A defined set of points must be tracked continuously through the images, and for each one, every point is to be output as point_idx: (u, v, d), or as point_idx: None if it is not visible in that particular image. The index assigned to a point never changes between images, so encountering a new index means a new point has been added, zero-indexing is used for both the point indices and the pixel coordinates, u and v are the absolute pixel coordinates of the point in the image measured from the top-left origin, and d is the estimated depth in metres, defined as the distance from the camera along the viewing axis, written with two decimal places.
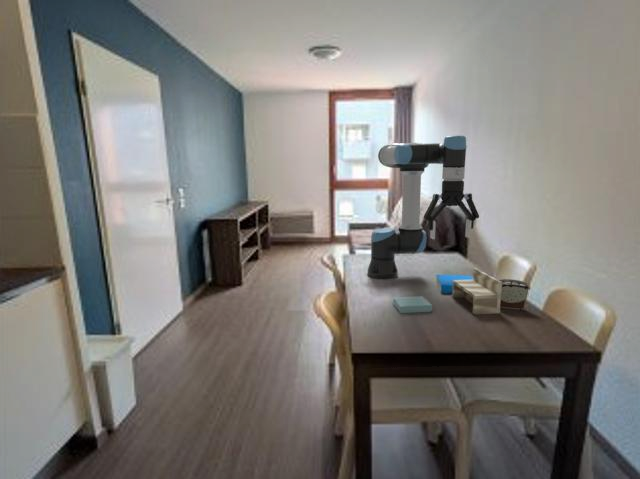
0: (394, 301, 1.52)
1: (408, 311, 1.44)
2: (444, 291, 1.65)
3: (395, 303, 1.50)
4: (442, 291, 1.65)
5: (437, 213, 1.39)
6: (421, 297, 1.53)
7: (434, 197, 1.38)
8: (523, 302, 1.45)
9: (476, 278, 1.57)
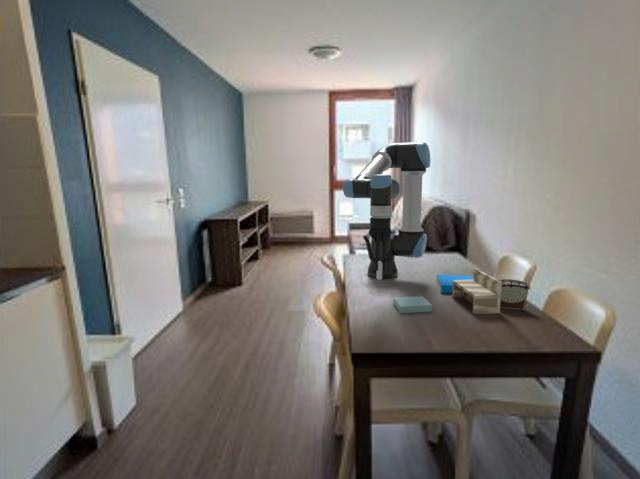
0: (394, 301, 1.52)
1: (408, 311, 1.44)
2: (444, 292, 1.65)
3: (395, 303, 1.50)
4: (442, 291, 1.65)
5: (377, 253, 1.42)
6: (421, 297, 1.53)
7: (364, 239, 1.42)
8: (523, 302, 1.45)
9: (476, 278, 1.57)
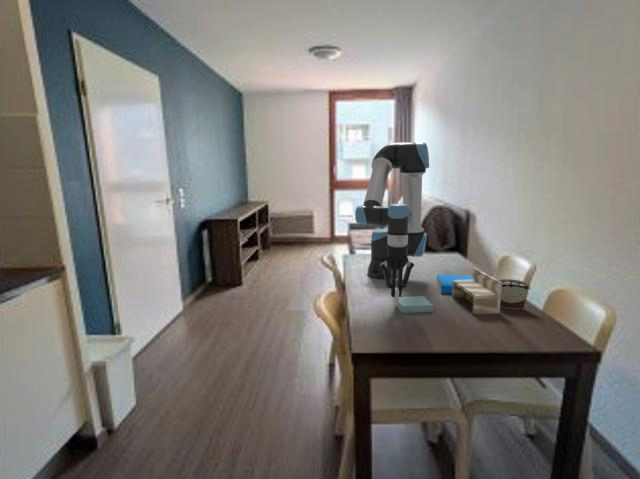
0: None
1: (409, 311, 1.44)
2: (444, 292, 1.65)
3: None
4: (442, 292, 1.65)
5: (394, 280, 1.45)
6: (422, 297, 1.53)
7: (382, 267, 1.45)
8: (523, 302, 1.45)
9: (476, 278, 1.57)
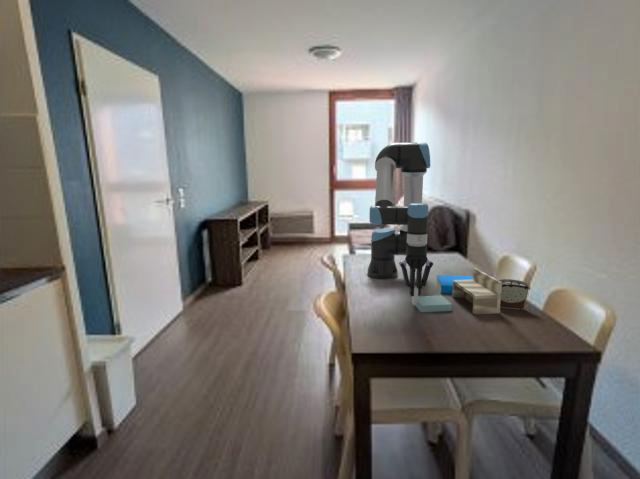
0: None
1: (428, 310, 1.45)
2: (444, 292, 1.65)
3: None
4: (442, 292, 1.65)
5: (413, 279, 1.46)
6: (440, 296, 1.53)
7: (401, 266, 1.45)
8: (523, 302, 1.45)
9: (476, 278, 1.57)
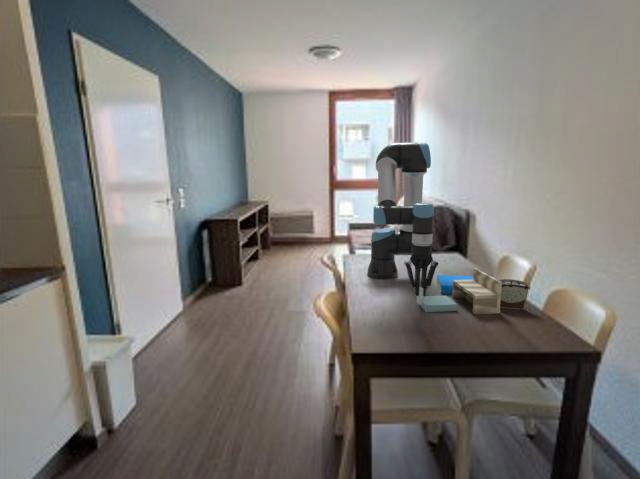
0: None
1: (433, 310, 1.45)
2: (444, 292, 1.64)
3: None
4: (442, 292, 1.65)
5: (418, 279, 1.46)
6: (445, 296, 1.54)
7: (406, 266, 1.45)
8: (523, 302, 1.45)
9: (476, 278, 1.57)
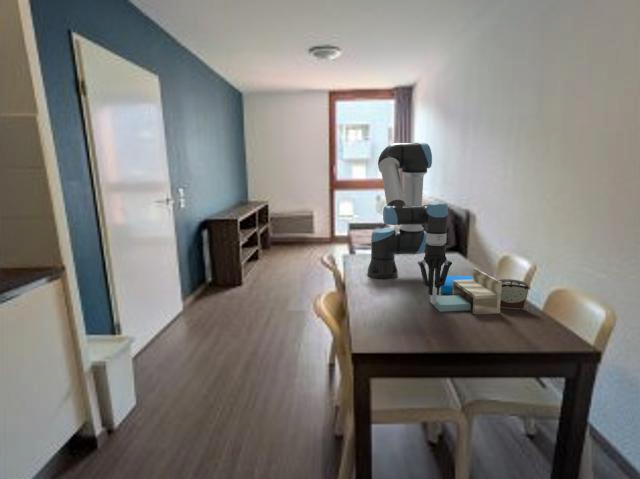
0: None
1: (447, 309, 1.45)
2: (444, 292, 1.64)
3: None
4: (442, 292, 1.64)
5: (432, 278, 1.46)
6: (458, 296, 1.54)
7: (420, 266, 1.46)
8: (523, 302, 1.45)
9: (476, 278, 1.57)
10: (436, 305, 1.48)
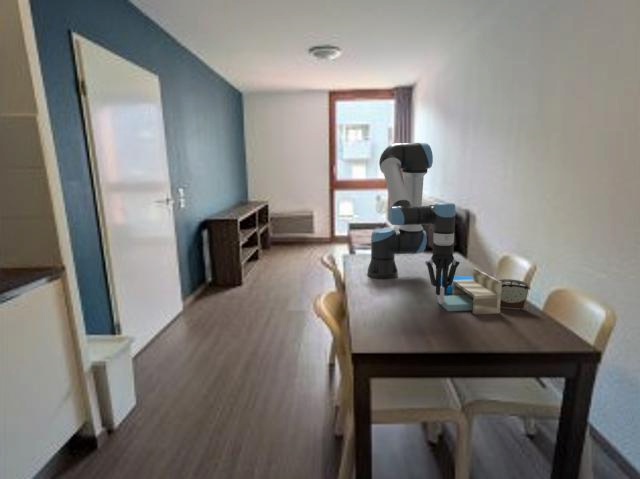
0: None
1: (455, 309, 1.45)
2: None
3: None
4: None
5: (439, 278, 1.47)
6: (466, 296, 1.54)
7: (428, 266, 1.46)
8: (523, 302, 1.45)
9: (476, 278, 1.57)
10: (444, 305, 1.48)
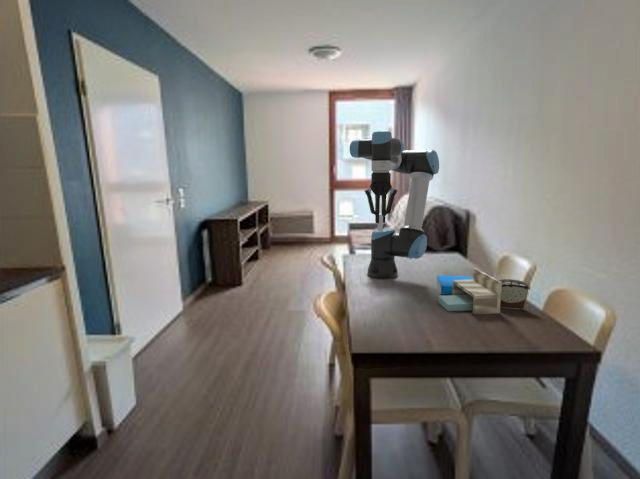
0: (439, 299, 1.53)
1: (455, 309, 1.45)
2: (444, 293, 1.64)
3: (441, 301, 1.51)
4: (442, 292, 1.64)
5: (378, 206, 1.52)
6: (466, 295, 1.54)
7: (366, 193, 1.51)
8: (523, 302, 1.45)
9: (476, 278, 1.57)
10: (444, 305, 1.48)
